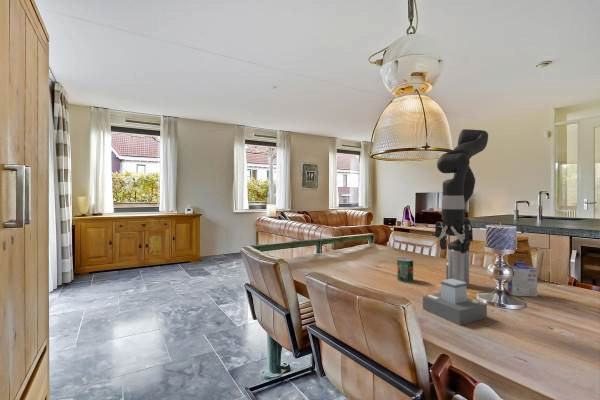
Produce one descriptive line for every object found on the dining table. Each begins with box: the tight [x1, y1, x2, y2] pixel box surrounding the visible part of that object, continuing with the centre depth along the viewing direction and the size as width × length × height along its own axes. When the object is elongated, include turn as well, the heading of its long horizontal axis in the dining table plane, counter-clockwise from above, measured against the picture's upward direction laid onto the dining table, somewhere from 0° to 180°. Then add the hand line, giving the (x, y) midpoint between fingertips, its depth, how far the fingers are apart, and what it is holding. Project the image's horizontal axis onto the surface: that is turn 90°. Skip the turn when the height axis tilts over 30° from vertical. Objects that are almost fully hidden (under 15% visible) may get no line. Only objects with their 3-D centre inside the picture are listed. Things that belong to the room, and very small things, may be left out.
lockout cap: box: [440, 279, 468, 304], centre depth 111 cm, size 6×6×7 cm
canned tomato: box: [396, 257, 414, 283], centre depth 155 cm, size 8×8×11 cm
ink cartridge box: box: [507, 261, 538, 297], centre depth 131 cm, size 10×6×14 cm, turn 78°
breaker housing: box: [422, 292, 488, 326], centre depth 111 cm, size 16×14×6 cm
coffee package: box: [504, 236, 534, 267], centre depth 157 cm, size 10×12×22 cm
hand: (452, 251), depth 111 cm, fingers open, 8 cm apart
